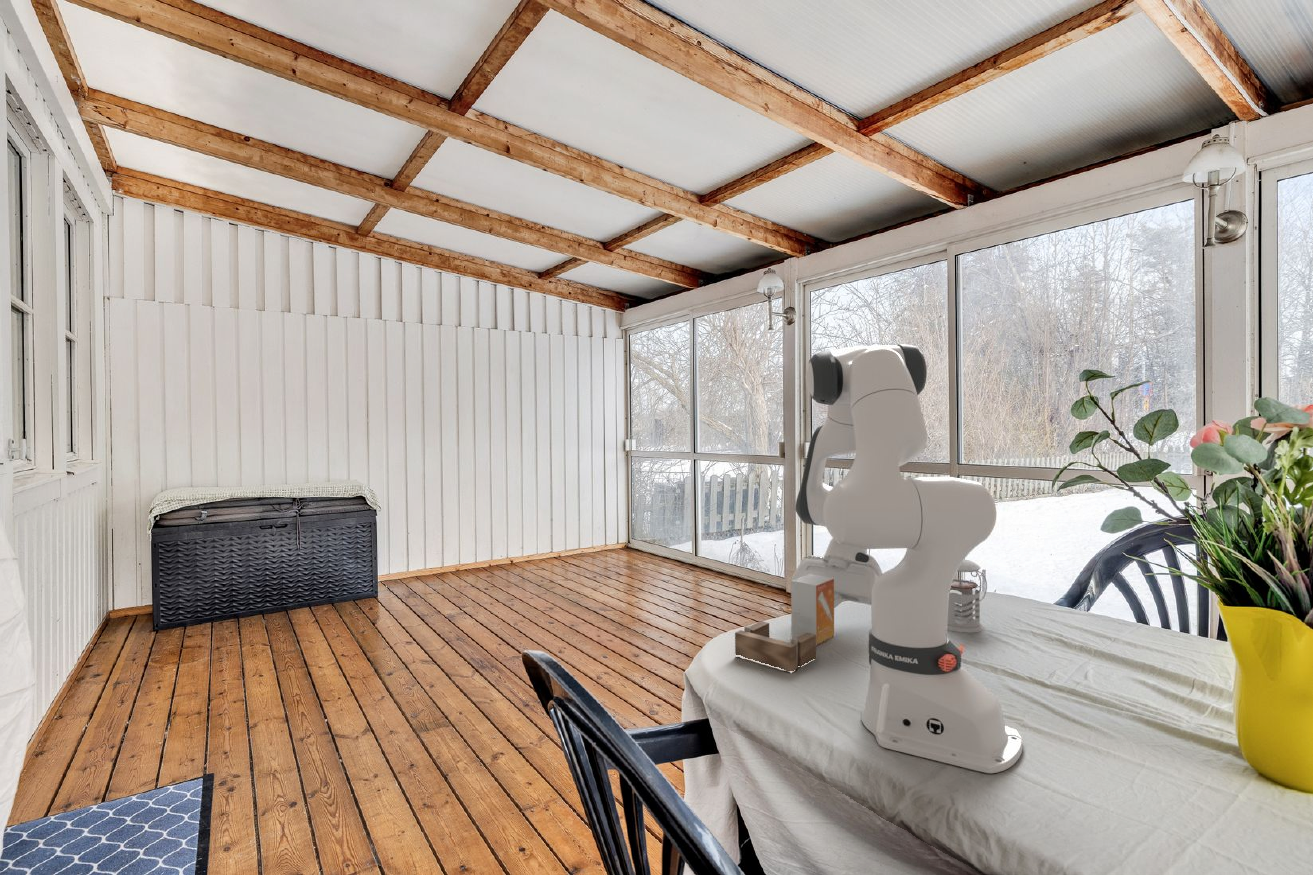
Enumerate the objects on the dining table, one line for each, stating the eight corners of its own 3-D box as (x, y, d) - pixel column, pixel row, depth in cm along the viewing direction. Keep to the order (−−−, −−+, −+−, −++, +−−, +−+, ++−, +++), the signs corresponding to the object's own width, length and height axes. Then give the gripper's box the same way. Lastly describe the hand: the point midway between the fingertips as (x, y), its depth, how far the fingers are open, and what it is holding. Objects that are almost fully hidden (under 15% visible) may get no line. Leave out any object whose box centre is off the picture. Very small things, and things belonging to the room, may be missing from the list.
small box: (816, 646, 135) (816, 585, 134) (790, 639, 139) (789, 580, 139) (835, 636, 141) (834, 577, 140) (809, 630, 145) (808, 573, 145)
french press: (927, 621, 150) (927, 515, 149) (967, 615, 153) (967, 511, 152) (959, 634, 140) (958, 521, 139) (1001, 628, 144) (1001, 518, 143)
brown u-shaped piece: (816, 658, 128) (815, 631, 128) (791, 673, 121) (790, 644, 121) (761, 644, 137) (761, 618, 137) (735, 656, 130) (734, 629, 130)
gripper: (799, 547, 155) (778, 595, 148) (880, 558, 141) (861, 613, 134) (808, 561, 159) (788, 610, 152) (889, 574, 145) (871, 628, 138)
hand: (823, 611), depth 143 cm, fingers closed, pressing on small box
